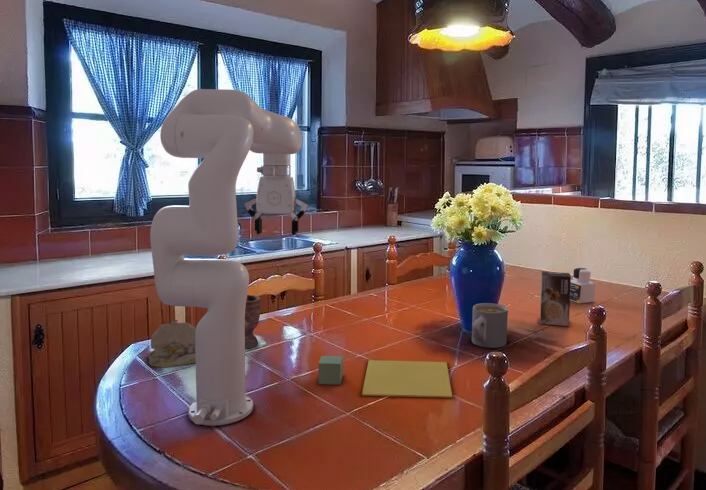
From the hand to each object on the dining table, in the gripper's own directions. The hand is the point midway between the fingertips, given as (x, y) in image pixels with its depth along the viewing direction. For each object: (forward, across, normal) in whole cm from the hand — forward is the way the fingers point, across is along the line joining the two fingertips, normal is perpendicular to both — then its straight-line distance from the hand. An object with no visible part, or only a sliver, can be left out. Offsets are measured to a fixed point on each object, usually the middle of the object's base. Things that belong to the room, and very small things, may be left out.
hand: (276, 233), depth 154 cm
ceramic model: (+30, -22, -16) cm, 41 cm away
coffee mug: (+31, +59, +1) cm, 66 cm away
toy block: (+30, +19, -27) cm, 45 cm away
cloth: (+30, +37, -25) cm, 54 cm away
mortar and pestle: (+30, -9, -4) cm, 32 cm away
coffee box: (+31, +84, +22) cm, 92 cm away
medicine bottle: (+31, +101, +50) cm, 117 cm away
